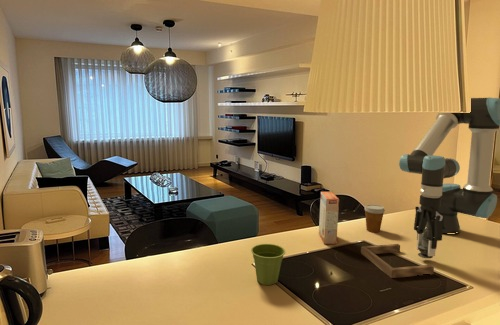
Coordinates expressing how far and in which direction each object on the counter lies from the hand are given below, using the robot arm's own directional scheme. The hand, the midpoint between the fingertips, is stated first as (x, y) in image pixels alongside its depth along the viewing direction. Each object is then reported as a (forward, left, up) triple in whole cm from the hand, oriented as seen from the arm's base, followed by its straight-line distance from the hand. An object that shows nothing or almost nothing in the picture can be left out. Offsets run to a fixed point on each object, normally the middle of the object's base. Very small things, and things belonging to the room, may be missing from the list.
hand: (425, 252), depth 143 cm
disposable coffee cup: (+2, -36, -4) cm, 36 cm away
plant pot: (+66, +5, -4) cm, 66 cm away
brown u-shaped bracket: (+13, 0, -3) cm, 13 cm away
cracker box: (+29, -29, -4) cm, 41 cm away
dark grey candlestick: (0, 0, -2) cm, 2 cm away
